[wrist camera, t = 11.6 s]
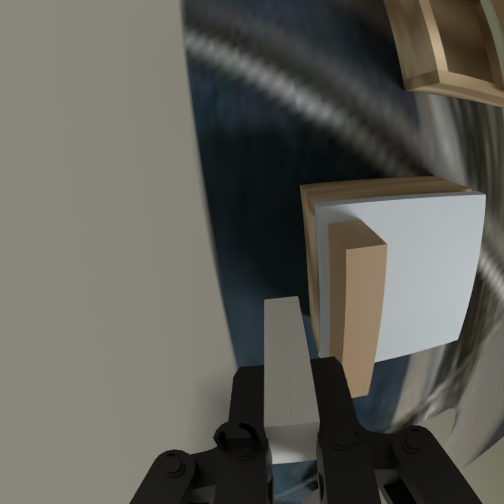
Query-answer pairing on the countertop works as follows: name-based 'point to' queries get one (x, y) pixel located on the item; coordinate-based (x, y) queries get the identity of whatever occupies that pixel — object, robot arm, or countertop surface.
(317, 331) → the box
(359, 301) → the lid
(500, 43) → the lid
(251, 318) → the countertop surface
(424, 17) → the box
